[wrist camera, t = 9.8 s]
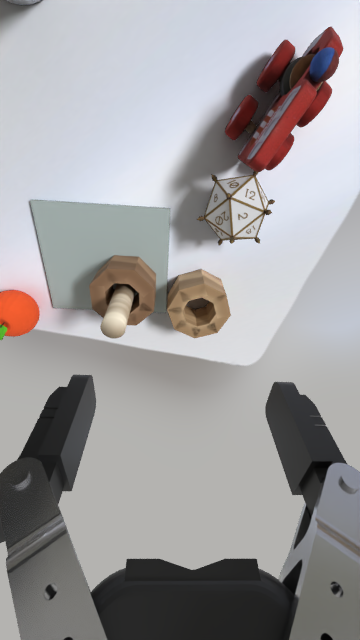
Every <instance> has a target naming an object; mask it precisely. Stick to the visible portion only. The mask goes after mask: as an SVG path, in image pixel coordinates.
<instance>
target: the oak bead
mask: <svg viewBox="0 0 360 640" xmlns="http://www.w3.org/2000/svg"><path fill="white" fill-rule="evenodd" d="M198 298H204V299H206V300H208V301H209V303H208V304H207V306H206V307H203V308H199V309H195V310H194V309H192V308H190V307H188V306H186V304H187V303H188V301H190V300H194V299H198ZM167 311H168V313H169V316H170V319H171V321H172V324H173V327H174V329H175V330H177V331H179V332H182V333H184V334H186V335H189V336H191V337H193V338H198V337H202V336H206V335H210V334H214V333H218V331H219V330H220V329H221V327H222V326H223V325H224V323H225V322H226V321H227V319H228V318H229V317H230V316H231V314H230V310H229V305H228V301H227V296H226V293H225V290H224V287H223V284H222V281H221V279H219V278H217V277H215V276H213V275H211V274H210V273H208V272H206V271H204V270H202V269H200V270H196V271H193V272H189V273H186V274H182V275H179V276H178V277H177V279H176V281H175V282H174V284H173V286H172V288H171V289H170V291H169V293H168V303H167Z"/></svg>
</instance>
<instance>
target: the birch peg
mask: <svg viewBox="0 0 360 640" xmlns="http://www.w3.org/2000/svg"><path fill="white" fill-rule="evenodd" d="M134 294H135V289H134V288H133V287H132V286H131V285H129V284H120V283H117V286H116V288H115V291H114V293H113V296H112V298H111V301H110V303H109V306H108V308H107V311H106V313H105V316H104V318H103V321H102V323H101V331H102V333H103V334H104V335H106V336H107V337H110V338H119V337H121V336H122V335H123V334H124V333H125V329H126V325H127V321H128V318H129V314H130V310H131V306H132V302H133V298H134Z"/></svg>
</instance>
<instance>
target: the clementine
mask: <svg viewBox="0 0 360 640" xmlns="http://www.w3.org/2000/svg"><path fill="white" fill-rule="evenodd" d="M38 320H39V307H38V305H37V303H36V302H35V300H34V299H33V298H32V297H31V296H29V295H28V294H26V293H24V292H21V291H17V290H9V291H3V292H0V340H2V339H3V337H4V335H5V336H20V335H23V334H25V333H28V332H29V331H30V330H32V329H33V328H34V327H35V325H36V324H37V322H38Z"/></svg>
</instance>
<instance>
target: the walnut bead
mask: <svg viewBox="0 0 360 640" xmlns="http://www.w3.org/2000/svg"><path fill="white" fill-rule="evenodd" d="M114 283H120V284H129V285H131V286H132V287H133V288H134V289H135V290H136V291H137V292H138V294H137V295H136V296H135V297H134V298H133V302H132V306H131V310H130V314H129V318H128V321H127V325H137V324H139V323H140V322H141V321H142V320H144V319H145V318H146V317H147V316H149V315H150V314H151V313H152V312H154V306H155V298H156V273H155V272H154V271H153V270H152V269H151V268H150V267H149V266H148V265H147V264H146V263H145V262H144V261H143V260H142V259H141V258H140V257H137V256H119V255H114V256H113V257H112V258H111V259H110V260H109V261H108V262H107V263H105V264H104V265H103V266H102V267H101V268H100V269H99V270H98V272H97V273H96V275H95V277H94V278H93V280H92V282H91V283H90V285H89V288H90V296H91V304H92V309H93V310H94V311H96V312H97V313H98V314H99V315H101V316H102V317H103V318H104V316H105V313H106V311H107V308H108V306H109V303H110V301H111V298H112V296H113V293H114V291H115V289H113V284H114Z"/></svg>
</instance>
